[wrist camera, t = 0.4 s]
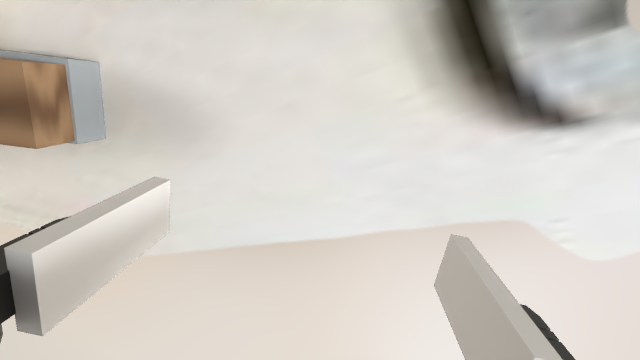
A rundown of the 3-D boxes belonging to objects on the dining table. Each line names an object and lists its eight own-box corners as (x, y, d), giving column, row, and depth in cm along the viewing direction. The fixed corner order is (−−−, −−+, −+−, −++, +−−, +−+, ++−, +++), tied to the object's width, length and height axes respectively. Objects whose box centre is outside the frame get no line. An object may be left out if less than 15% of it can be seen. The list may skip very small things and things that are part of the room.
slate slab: (28, 53, 41) (-14, 48, 36) (101, 62, 41) (68, 59, 36) (40, 128, 44) (2, 133, 39) (107, 137, 44) (77, 144, 39)
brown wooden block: (-8, 56, 36) (-62, 52, 32) (64, 64, 36) (21, 61, 31) (7, 132, 39) (-40, 138, 34) (75, 141, 39) (36, 148, 34)
